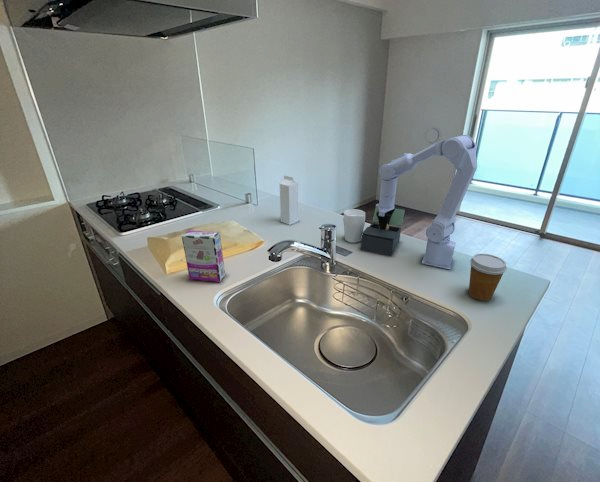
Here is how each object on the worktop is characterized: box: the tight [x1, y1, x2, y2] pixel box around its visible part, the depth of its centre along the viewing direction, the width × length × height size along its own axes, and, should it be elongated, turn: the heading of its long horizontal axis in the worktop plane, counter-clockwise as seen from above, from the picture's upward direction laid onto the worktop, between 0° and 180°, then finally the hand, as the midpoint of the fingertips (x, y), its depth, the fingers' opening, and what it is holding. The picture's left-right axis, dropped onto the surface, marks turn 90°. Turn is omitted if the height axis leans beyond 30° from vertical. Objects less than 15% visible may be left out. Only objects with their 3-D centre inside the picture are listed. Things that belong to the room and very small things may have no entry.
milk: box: [279, 175, 299, 226], centre depth 150 cm, size 6×6×22 cm
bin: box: [360, 222, 402, 257], centre depth 128 cm, size 14×12×7 cm
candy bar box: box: [181, 229, 226, 283], centre depth 106 cm, size 11×5×16 cm, turn 80°
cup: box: [342, 208, 367, 244], centre depth 133 cm, size 9×9×12 cm
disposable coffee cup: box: [468, 253, 508, 302], centre depth 96 cm, size 10×10×12 cm
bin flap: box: [372, 206, 406, 227], centre depth 133 cm, size 7×12×1 cm
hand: (384, 227), depth 129 cm, fingers closed on paper ball, 4 cm apart
